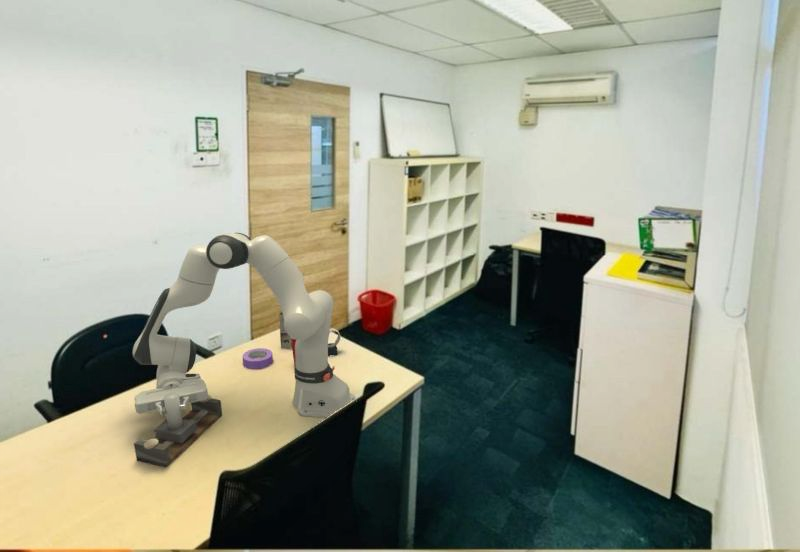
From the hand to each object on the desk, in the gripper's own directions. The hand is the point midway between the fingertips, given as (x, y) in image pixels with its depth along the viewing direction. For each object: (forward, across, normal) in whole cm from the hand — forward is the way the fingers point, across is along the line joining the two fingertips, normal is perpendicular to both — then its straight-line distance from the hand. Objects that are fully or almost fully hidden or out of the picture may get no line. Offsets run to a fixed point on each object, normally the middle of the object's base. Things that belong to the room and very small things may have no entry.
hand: (173, 410), depth 137 cm
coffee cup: (-32, +47, +12) cm, 58 cm away
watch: (-38, +62, +12) cm, 73 cm away
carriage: (-1, 0, +9) cm, 9 cm away
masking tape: (-42, +32, +12) cm, 54 cm away
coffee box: (-53, +48, +12) cm, 72 cm away
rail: (-3, +2, +12) cm, 12 cm away
